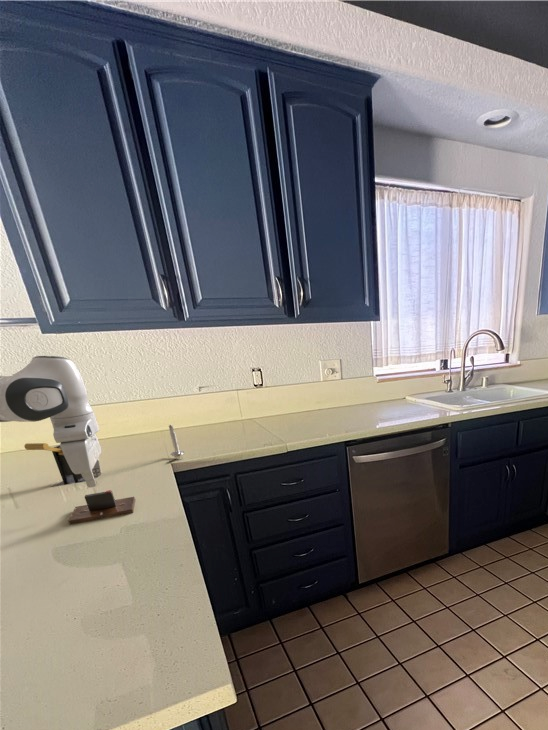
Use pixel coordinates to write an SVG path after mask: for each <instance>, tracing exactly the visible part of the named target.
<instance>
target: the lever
mask: <svg viewBox="0 0 548 730" xmlns="http://www.w3.org/2000/svg"><path fill="white" fill-rule="evenodd" d="M53 447H54V446H53ZM53 447H52V446H50V445H49V444H48V443H46V442H43V443H42V442H41V443H40V442H33V443H32V442H28V443H25V444H24V449H25V450H26V451H48V452H52V451H54V452H59V455H63V456H64V454H63V452H62V449H61V447H59V449H58V448H53Z"/></svg>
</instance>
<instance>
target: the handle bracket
mask: <svg viewBox="0 0 548 730" xmlns="http://www.w3.org/2000/svg"><path fill="white" fill-rule="evenodd" d="M59 447H61V446H60V444H59V445H56V446H53V448H58V449H59ZM51 453H52V455H53V458H54V460H55V463H56V466H57V468H58V471H59V474H60V477H61V479H62V480H61V481H60V482H58V483H56V484H53V485H51V486H50V488H54V487H60V486H67V485H72V484H79V483H86V481H85V480H84V478H83V477H82V475H81V474H74V473H73V472H72V470H71V469H70V467H69V465H68V463H67V461H66V458H65V456H63V455H59V452H54V451H51ZM101 475H102V474H101ZM101 475H99V476H94V475H93V476H94V478H95V479H97V478H99V477H101Z"/></svg>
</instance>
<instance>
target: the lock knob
mask: <svg viewBox="0 0 548 730" xmlns="http://www.w3.org/2000/svg"><path fill="white" fill-rule="evenodd" d="M115 500H116V498H115V495H114V493H113V490H112V489H108V490H106V491H101V492H95V493H90V494H85V495H84V501H85V502H86V505H88V508H89V511H93V510H99V509H104V508H110V507H115V506H116V502H115Z"/></svg>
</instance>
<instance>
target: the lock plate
mask: <svg viewBox="0 0 548 730" xmlns="http://www.w3.org/2000/svg"><path fill="white" fill-rule="evenodd" d="M115 502H116V506H115V507H110V508H104V509H99V510H93V511H89V508H88V505H87V504H85V505H79V506H74V509H73V511H72V513H71V515H70V517H69V519H68V524H69V526H71V525H77V524H81V523H86V522H87V523H88V522H91V521H92V522H93V521H96V520H97V521H98V520H104V519H108V518H113V517H119V516H124V515H129V514H134V511H135V504H136V497H135V496H129V497H123V498H117V499H115Z"/></svg>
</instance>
